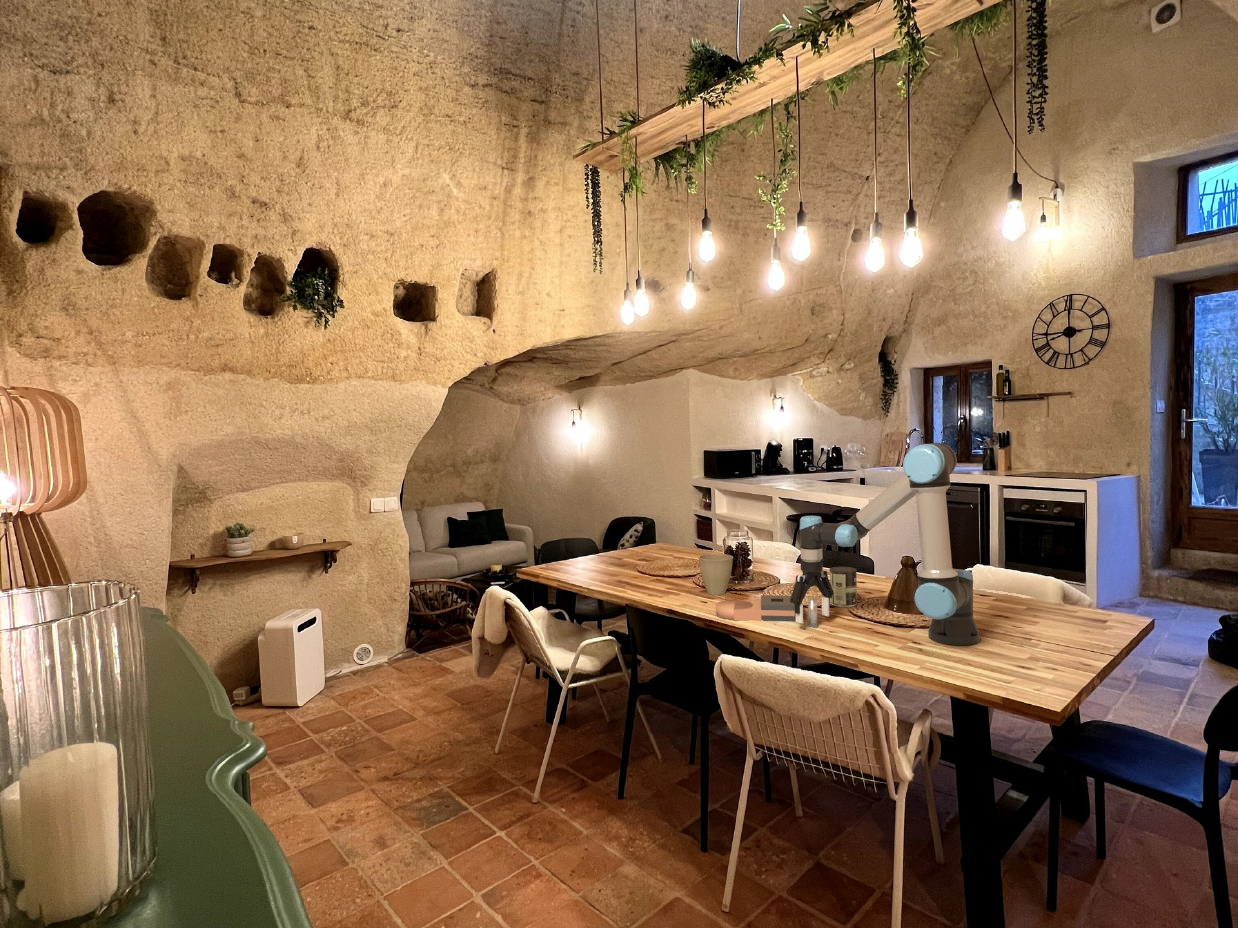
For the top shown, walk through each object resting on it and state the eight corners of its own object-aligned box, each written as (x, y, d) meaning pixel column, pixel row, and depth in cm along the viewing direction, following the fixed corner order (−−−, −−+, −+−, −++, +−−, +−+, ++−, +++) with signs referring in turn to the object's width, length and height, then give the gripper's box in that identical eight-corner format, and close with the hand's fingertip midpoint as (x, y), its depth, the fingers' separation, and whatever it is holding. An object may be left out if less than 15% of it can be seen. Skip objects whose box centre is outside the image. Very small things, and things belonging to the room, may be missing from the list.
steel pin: (817, 627, 244) (816, 599, 244) (808, 627, 245) (808, 599, 244) (816, 625, 247) (816, 597, 247) (808, 625, 248) (807, 597, 247)
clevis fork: (803, 621, 253) (802, 605, 252) (761, 620, 256) (760, 604, 255) (801, 611, 266) (800, 595, 266) (761, 610, 269) (761, 595, 269)
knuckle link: (794, 621, 253) (794, 610, 253) (715, 619, 259) (714, 609, 259) (793, 611, 267) (792, 600, 267) (717, 609, 273) (717, 599, 273)
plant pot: (726, 598, 289) (724, 561, 289) (693, 595, 297) (692, 558, 296) (739, 590, 302) (738, 554, 301) (708, 587, 310) (707, 552, 309)
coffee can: (855, 600, 279) (854, 566, 278) (859, 607, 268) (858, 571, 268) (828, 600, 281) (828, 566, 280) (831, 607, 271) (830, 571, 270)
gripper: (826, 553, 255) (827, 610, 256) (778, 563, 241) (780, 622, 242) (843, 556, 249) (844, 614, 250) (795, 566, 235) (796, 627, 236)
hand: (812, 618), depth 246 cm, fingers open, 13 cm apart
